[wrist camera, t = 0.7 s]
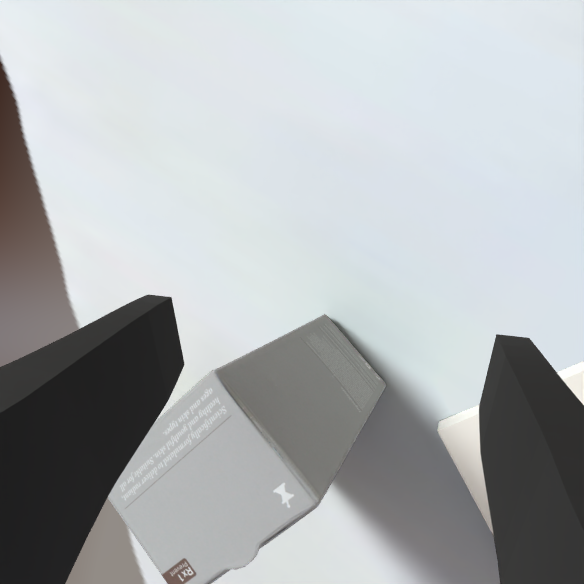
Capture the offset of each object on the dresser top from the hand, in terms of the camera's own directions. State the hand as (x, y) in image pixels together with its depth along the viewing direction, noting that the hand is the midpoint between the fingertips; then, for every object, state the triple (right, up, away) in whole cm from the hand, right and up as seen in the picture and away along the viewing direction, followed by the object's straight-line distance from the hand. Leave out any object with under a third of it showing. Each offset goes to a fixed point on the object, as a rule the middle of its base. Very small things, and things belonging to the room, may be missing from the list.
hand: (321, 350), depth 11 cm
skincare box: (+1, -5, +22) cm, 23 cm away
